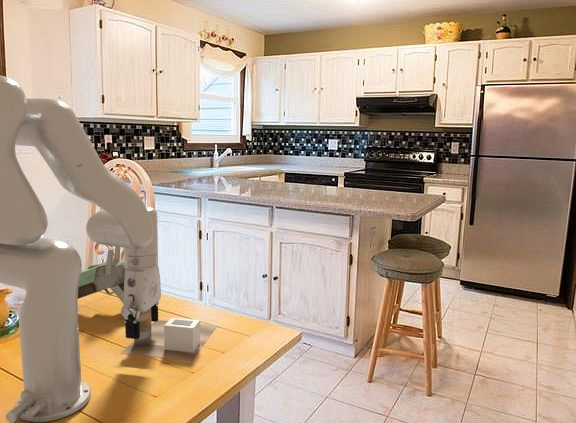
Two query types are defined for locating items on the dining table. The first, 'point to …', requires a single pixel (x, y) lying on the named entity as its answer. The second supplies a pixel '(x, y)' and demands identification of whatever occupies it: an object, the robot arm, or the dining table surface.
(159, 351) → the board
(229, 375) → the dining table surface
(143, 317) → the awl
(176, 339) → the white rectangular block
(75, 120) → the robot arm
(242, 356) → the dining table surface
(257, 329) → the dining table surface
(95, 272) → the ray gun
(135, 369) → the dining table surface
